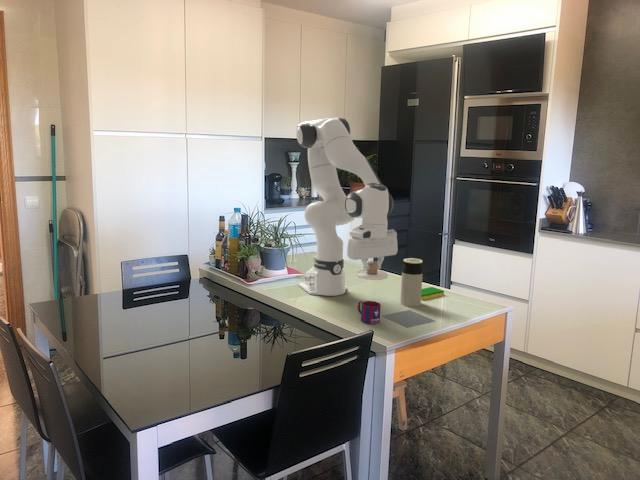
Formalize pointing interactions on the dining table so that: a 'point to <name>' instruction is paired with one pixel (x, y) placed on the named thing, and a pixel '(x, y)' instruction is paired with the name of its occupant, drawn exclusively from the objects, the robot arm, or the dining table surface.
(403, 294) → the travel mug
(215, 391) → the dining table surface
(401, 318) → the drying mat
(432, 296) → the dish sponge
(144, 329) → the dining table surface
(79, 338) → the dining table surface
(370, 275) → the cover lid
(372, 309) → the cup
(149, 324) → the dining table surface
